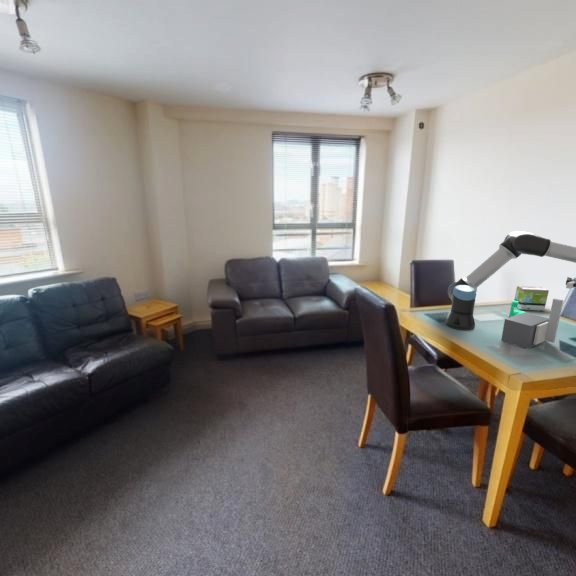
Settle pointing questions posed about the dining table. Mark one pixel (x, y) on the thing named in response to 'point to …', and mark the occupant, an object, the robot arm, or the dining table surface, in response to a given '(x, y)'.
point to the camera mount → (514, 312)
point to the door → (549, 324)
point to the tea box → (531, 297)
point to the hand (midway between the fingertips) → (568, 285)
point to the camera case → (521, 329)
